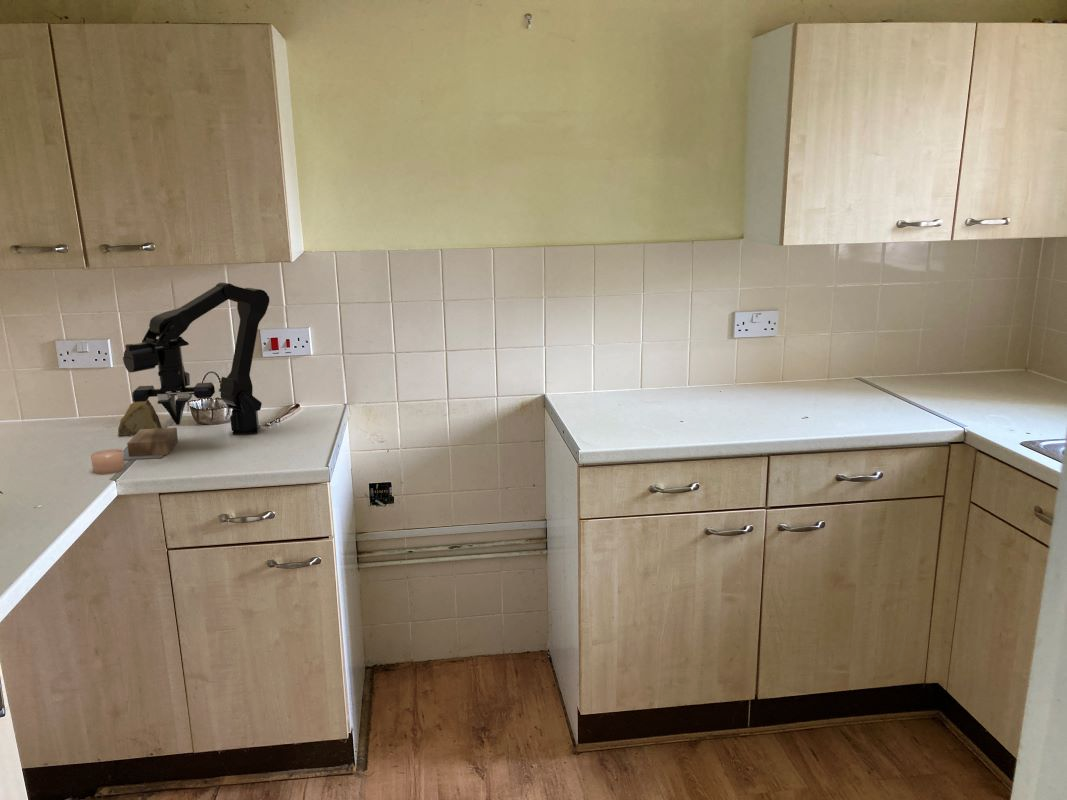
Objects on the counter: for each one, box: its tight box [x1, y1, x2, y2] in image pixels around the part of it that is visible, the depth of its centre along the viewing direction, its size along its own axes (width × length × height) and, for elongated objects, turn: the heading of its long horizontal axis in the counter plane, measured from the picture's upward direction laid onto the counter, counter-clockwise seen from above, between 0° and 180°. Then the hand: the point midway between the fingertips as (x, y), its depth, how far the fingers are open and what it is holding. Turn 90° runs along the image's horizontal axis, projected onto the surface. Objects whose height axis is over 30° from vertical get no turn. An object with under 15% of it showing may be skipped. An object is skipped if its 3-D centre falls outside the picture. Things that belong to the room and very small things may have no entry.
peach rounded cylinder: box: [90, 448, 126, 475], centre depth 201 cm, size 7×7×4 cm
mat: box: [122, 445, 166, 461], centre depth 215 cm, size 11×16×1 cm
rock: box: [117, 398, 163, 437], centre depth 230 cm, size 11×9×10 cm
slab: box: [126, 427, 179, 457], centre depth 215 cm, size 4×12×9 cm
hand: (178, 424), depth 215 cm, fingers closed
